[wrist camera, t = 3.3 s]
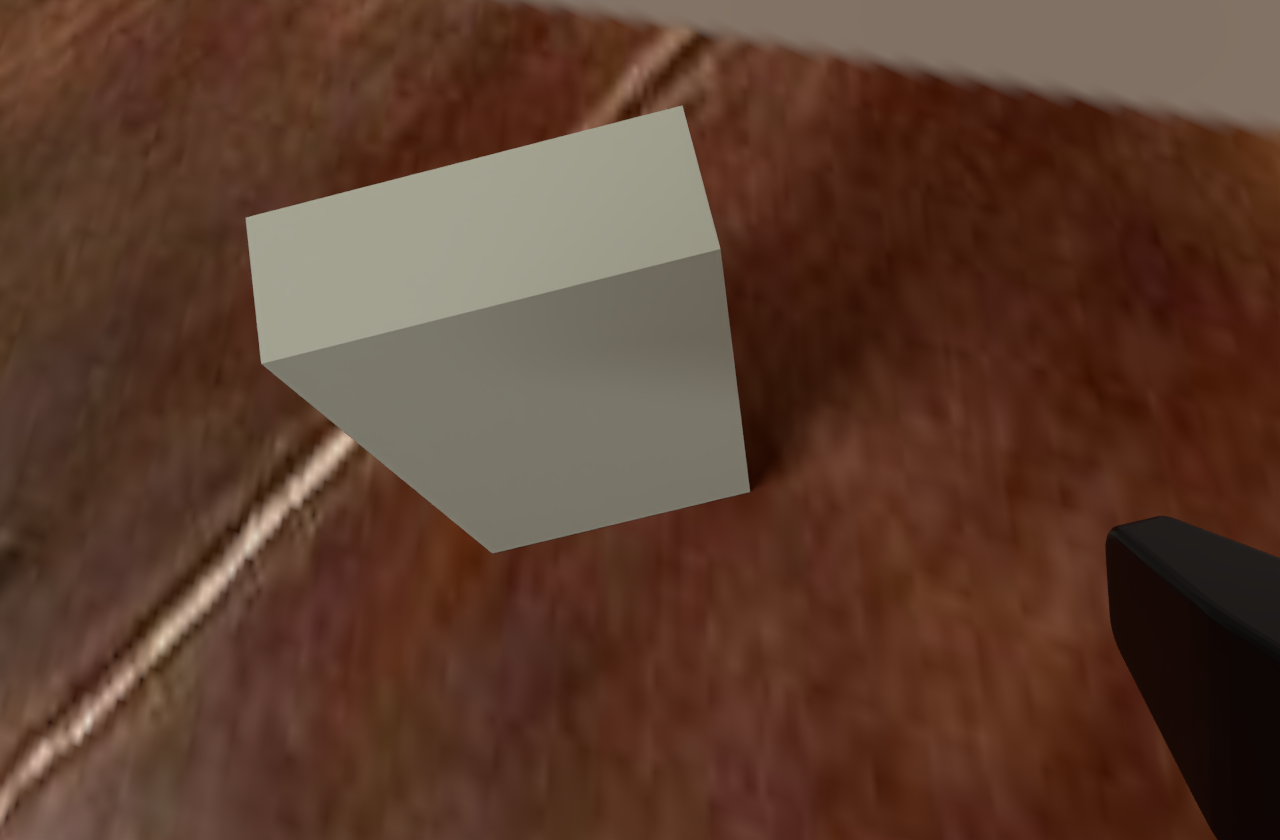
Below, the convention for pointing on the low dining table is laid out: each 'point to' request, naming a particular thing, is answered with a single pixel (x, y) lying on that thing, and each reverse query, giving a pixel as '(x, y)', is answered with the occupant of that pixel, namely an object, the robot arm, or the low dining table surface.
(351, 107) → the low dining table surface
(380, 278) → the sage domino
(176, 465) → the low dining table surface
